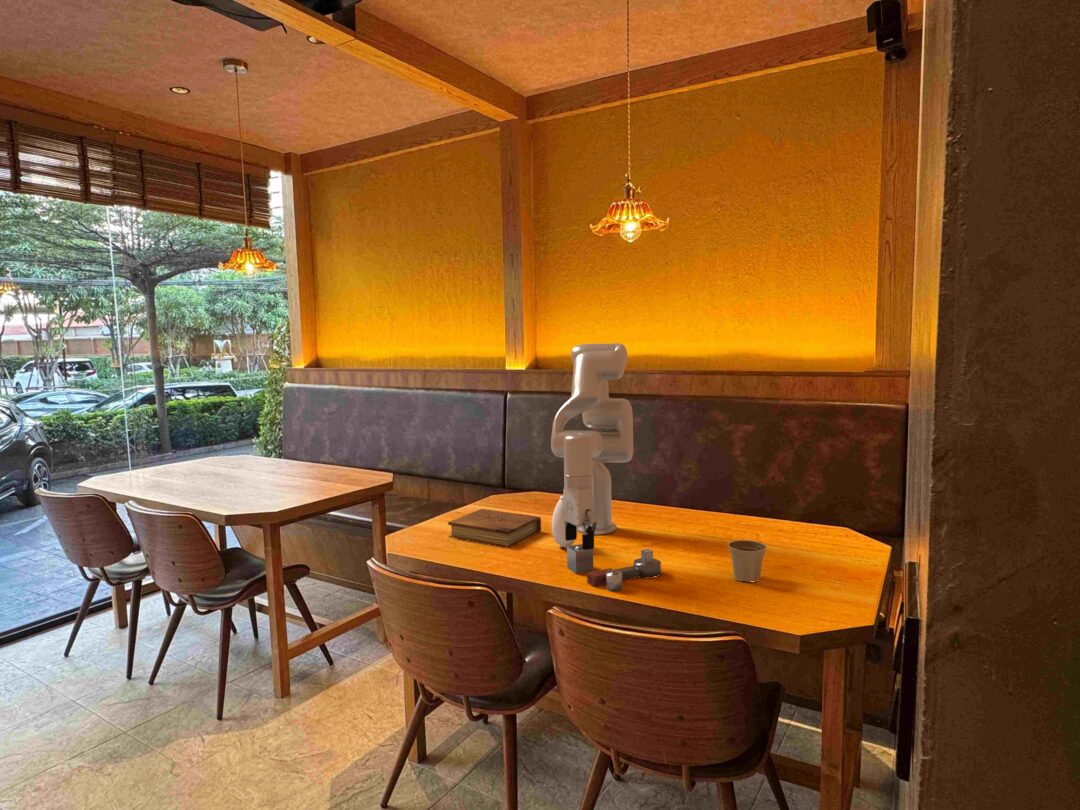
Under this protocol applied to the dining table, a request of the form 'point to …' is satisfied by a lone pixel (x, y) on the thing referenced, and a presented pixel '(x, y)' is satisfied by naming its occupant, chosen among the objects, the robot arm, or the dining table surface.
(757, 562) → the flower pot
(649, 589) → the dining table surface
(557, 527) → the white air blower bulb
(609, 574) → the socket
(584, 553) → the socket
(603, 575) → the ratchet
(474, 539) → the diary
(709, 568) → the dining table surface
